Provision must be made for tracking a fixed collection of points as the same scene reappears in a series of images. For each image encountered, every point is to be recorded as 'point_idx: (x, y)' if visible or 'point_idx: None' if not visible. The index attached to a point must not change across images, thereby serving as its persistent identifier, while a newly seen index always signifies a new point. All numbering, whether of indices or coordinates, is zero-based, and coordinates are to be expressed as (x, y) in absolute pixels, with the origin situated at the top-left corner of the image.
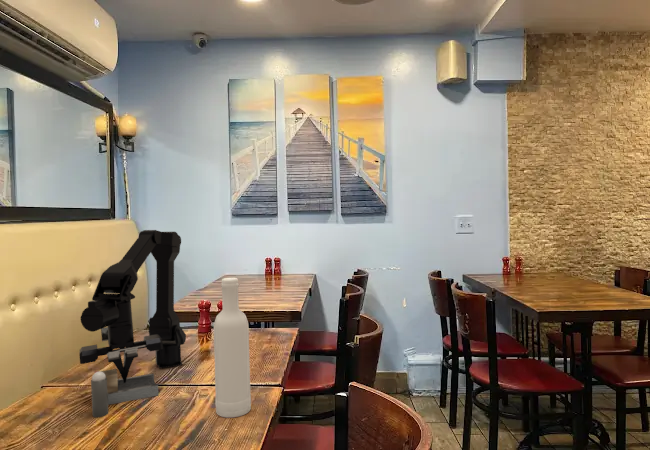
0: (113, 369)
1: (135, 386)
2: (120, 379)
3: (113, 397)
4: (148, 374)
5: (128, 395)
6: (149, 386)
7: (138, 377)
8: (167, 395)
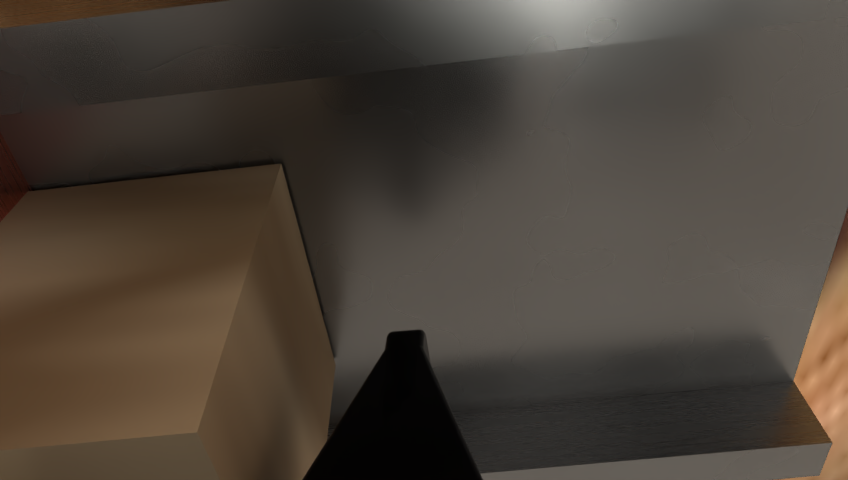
0: (128, 449)
1: (558, 167)
2: (293, 40)
3: None
4: None
5: None
6: (717, 475)
7: (665, 33)
8: (840, 398)
